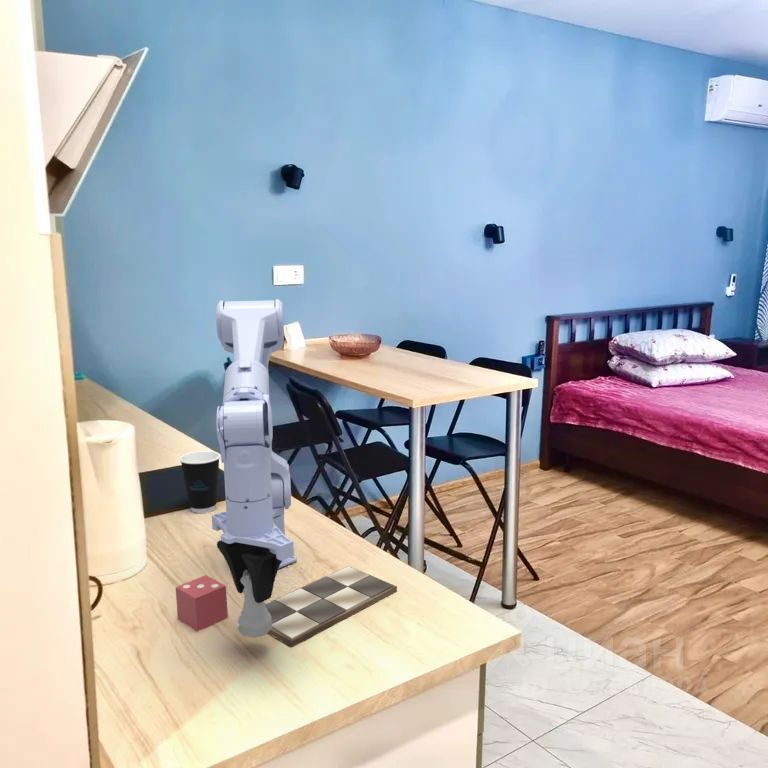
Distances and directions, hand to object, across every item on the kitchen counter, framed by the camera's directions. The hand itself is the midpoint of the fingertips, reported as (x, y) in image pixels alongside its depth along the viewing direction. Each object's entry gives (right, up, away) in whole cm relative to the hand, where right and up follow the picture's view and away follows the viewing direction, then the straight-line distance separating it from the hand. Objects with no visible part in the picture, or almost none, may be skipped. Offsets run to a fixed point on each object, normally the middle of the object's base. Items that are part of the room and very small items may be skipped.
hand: (254, 594), depth 92 cm
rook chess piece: (0, -5, +1) cm, 5 cm away
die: (-9, -6, +10) cm, 15 cm away
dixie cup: (-20, +2, +52) cm, 56 cm away
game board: (+8, -5, +13) cm, 16 cm away
